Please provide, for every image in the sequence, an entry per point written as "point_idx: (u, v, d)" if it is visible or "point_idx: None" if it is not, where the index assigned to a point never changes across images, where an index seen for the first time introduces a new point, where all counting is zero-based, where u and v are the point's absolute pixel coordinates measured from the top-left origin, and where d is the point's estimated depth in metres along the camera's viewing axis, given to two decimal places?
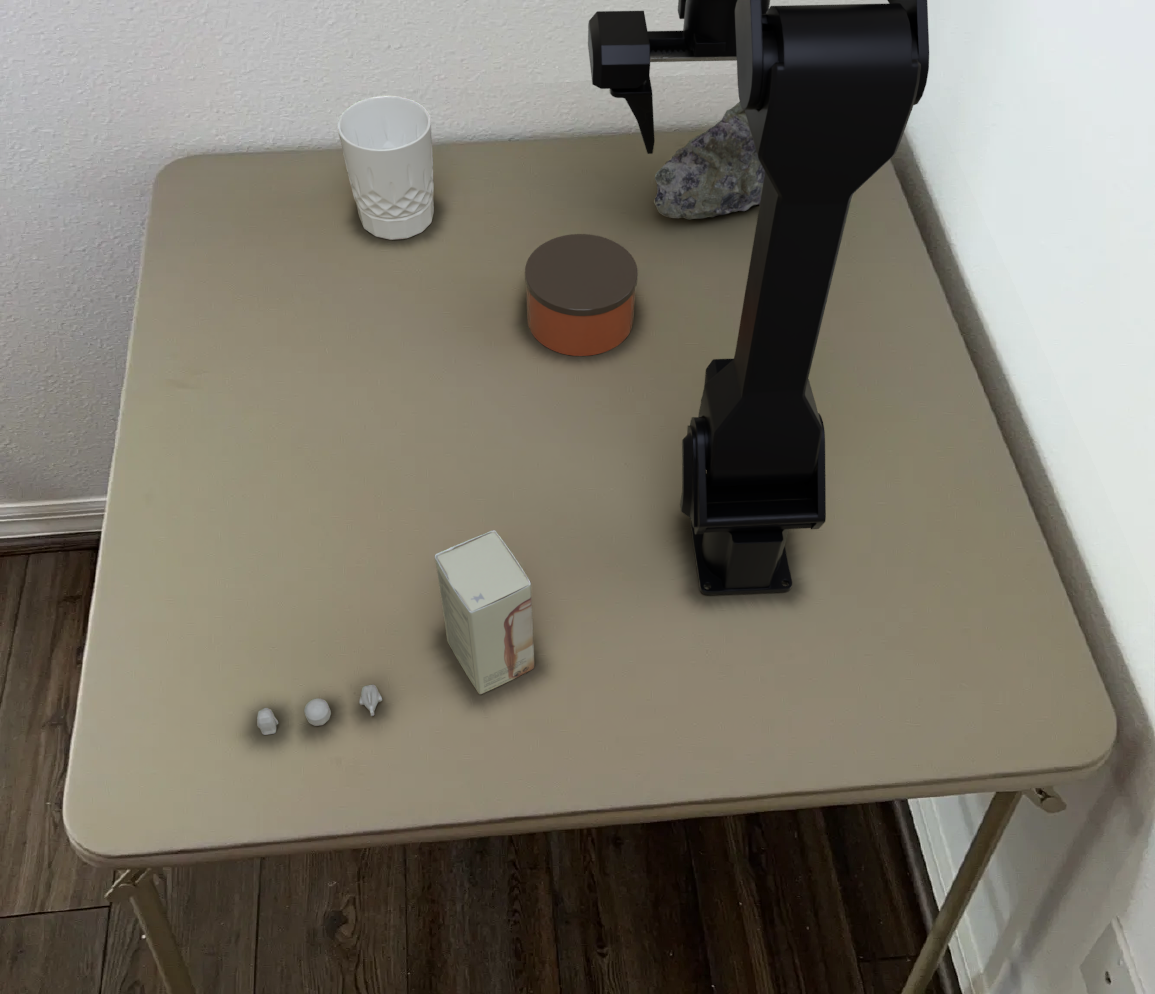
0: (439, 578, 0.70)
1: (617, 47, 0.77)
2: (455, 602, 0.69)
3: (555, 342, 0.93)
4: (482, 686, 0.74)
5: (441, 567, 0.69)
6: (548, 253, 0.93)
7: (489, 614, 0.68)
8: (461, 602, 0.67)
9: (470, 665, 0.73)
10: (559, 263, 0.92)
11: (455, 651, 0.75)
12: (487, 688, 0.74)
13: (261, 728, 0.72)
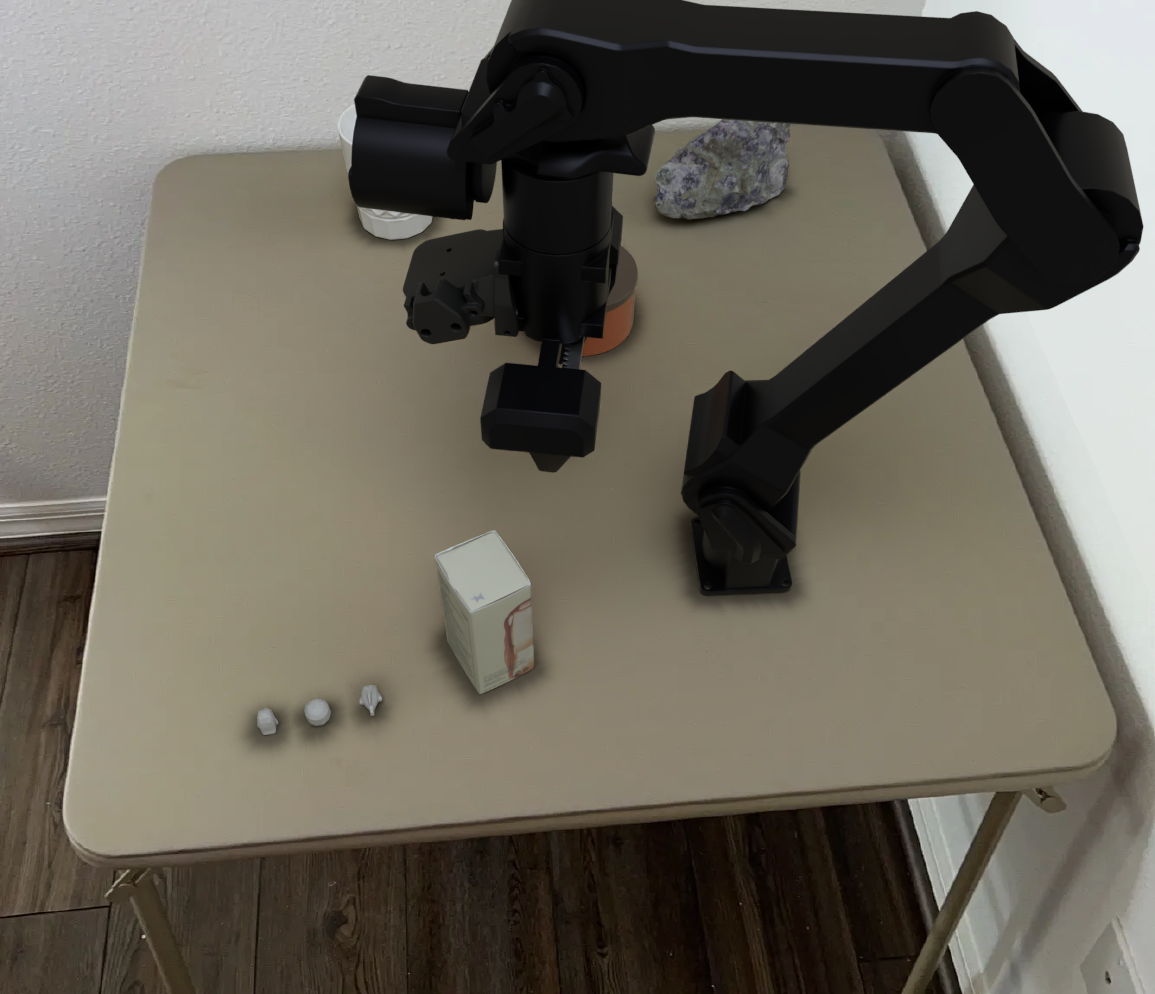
0: (439, 578, 0.70)
1: (583, 401, 0.60)
2: (455, 602, 0.69)
3: None
4: (482, 686, 0.74)
5: (441, 567, 0.69)
6: None
7: (488, 614, 0.68)
8: (461, 602, 0.67)
9: (470, 665, 0.73)
10: None
11: (455, 651, 0.75)
12: (487, 688, 0.74)
13: (261, 728, 0.72)
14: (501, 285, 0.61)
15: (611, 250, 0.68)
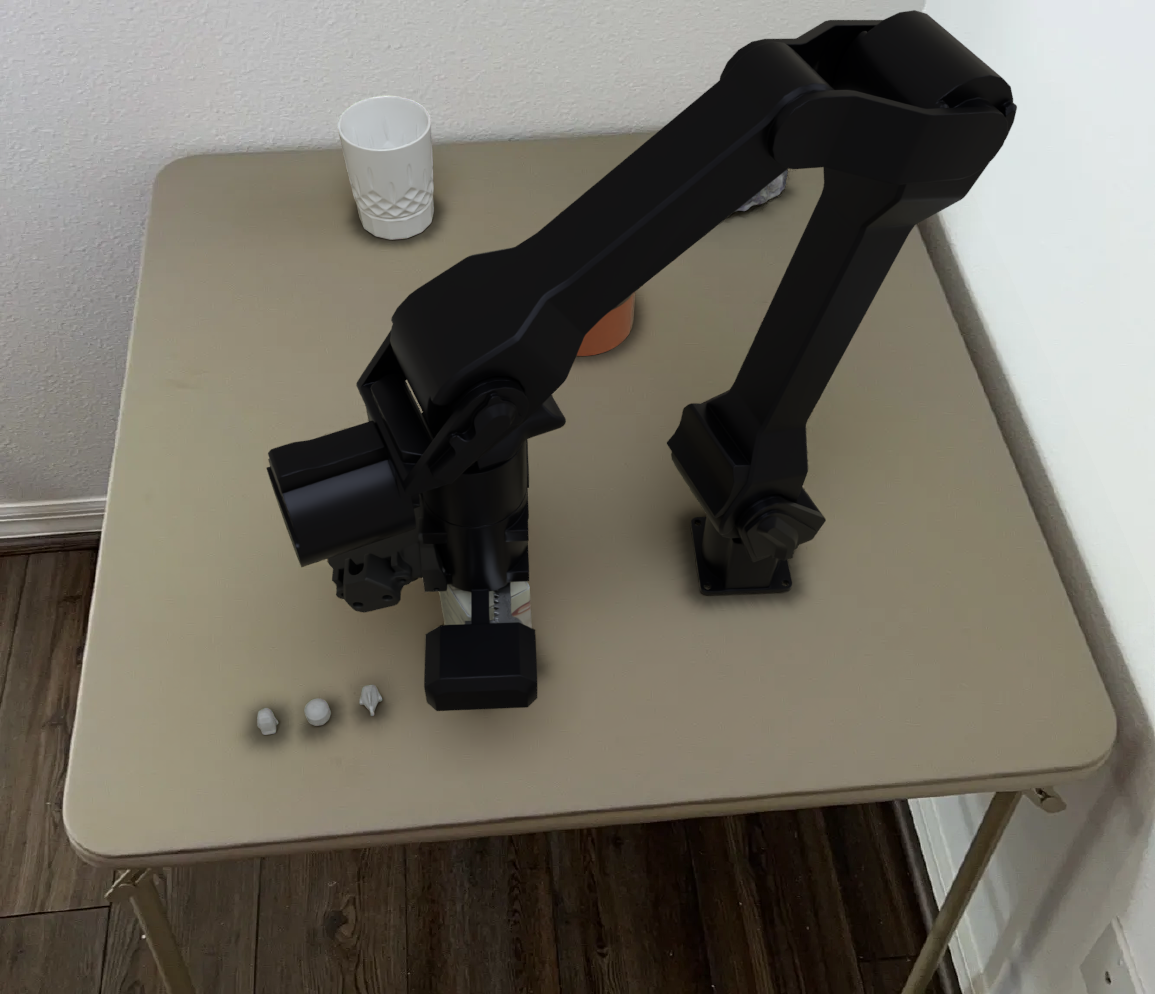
0: None
1: (521, 658, 0.62)
2: (454, 605, 0.69)
3: None
4: None
5: None
6: None
7: None
8: (460, 606, 0.67)
9: None
10: None
11: None
12: None
13: (261, 728, 0.72)
14: (427, 552, 0.62)
15: None
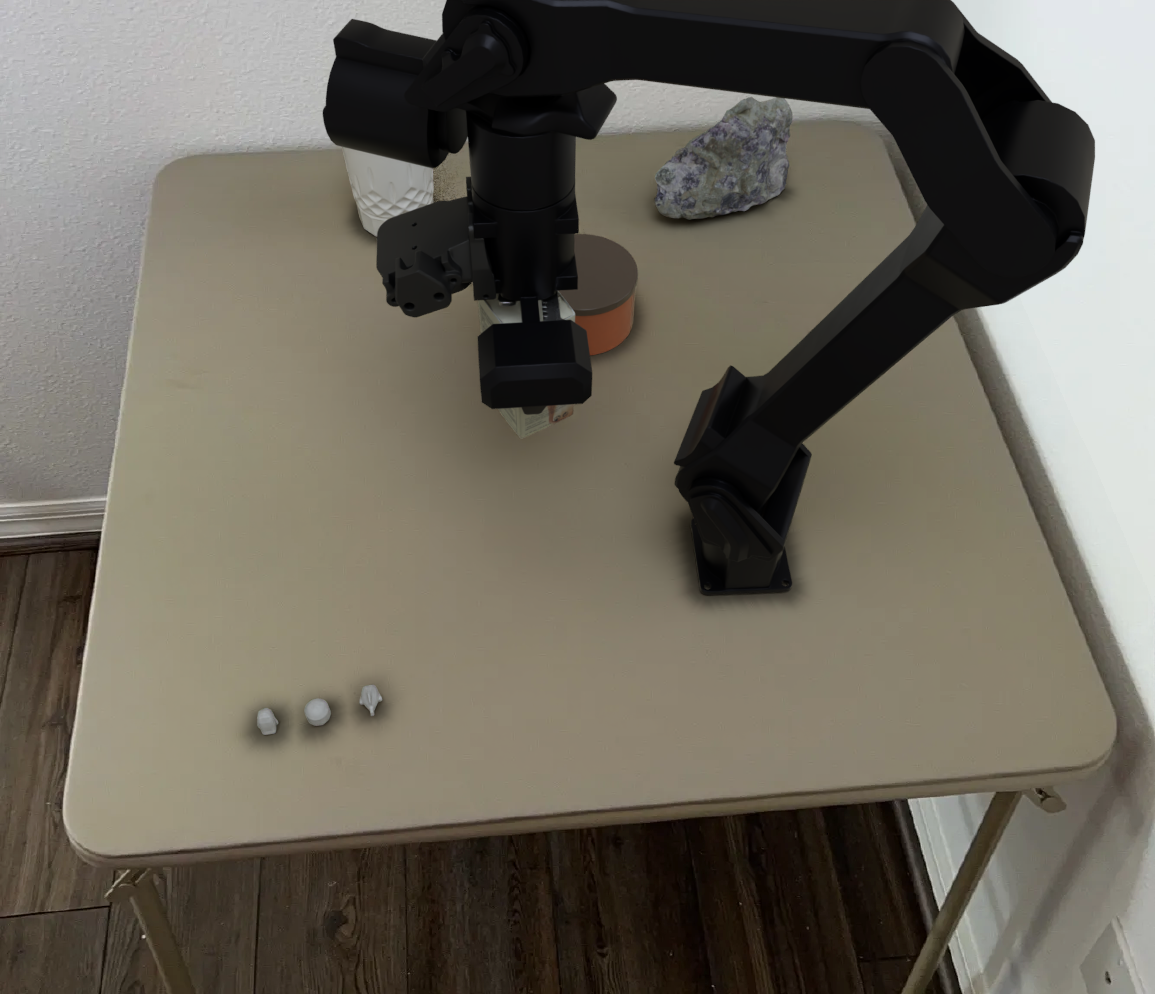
0: (481, 315, 0.70)
1: (576, 349, 0.62)
2: None
3: None
4: (523, 429, 0.74)
5: (484, 300, 0.68)
6: None
7: None
8: None
9: None
10: None
11: None
12: (528, 432, 0.75)
13: (261, 728, 0.72)
14: (478, 249, 0.62)
15: None
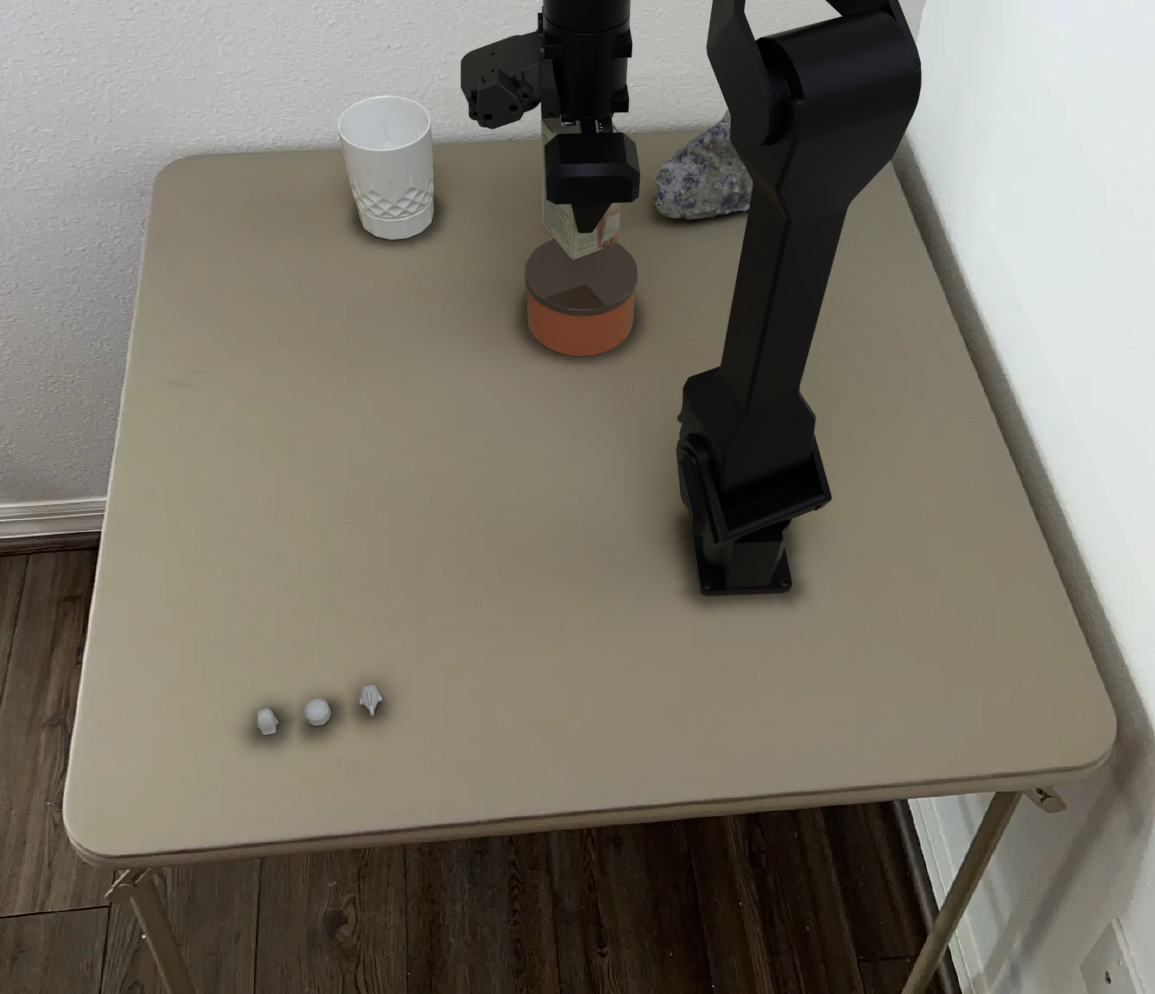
0: (543, 142, 0.82)
1: (627, 153, 0.74)
2: None
3: (555, 342, 0.93)
4: (575, 250, 0.86)
5: (547, 126, 0.80)
6: (548, 253, 0.93)
7: None
8: None
9: (566, 228, 0.85)
10: (559, 263, 0.92)
11: (551, 226, 0.88)
12: (579, 253, 0.87)
13: (261, 728, 0.72)
14: (547, 69, 0.74)
15: None
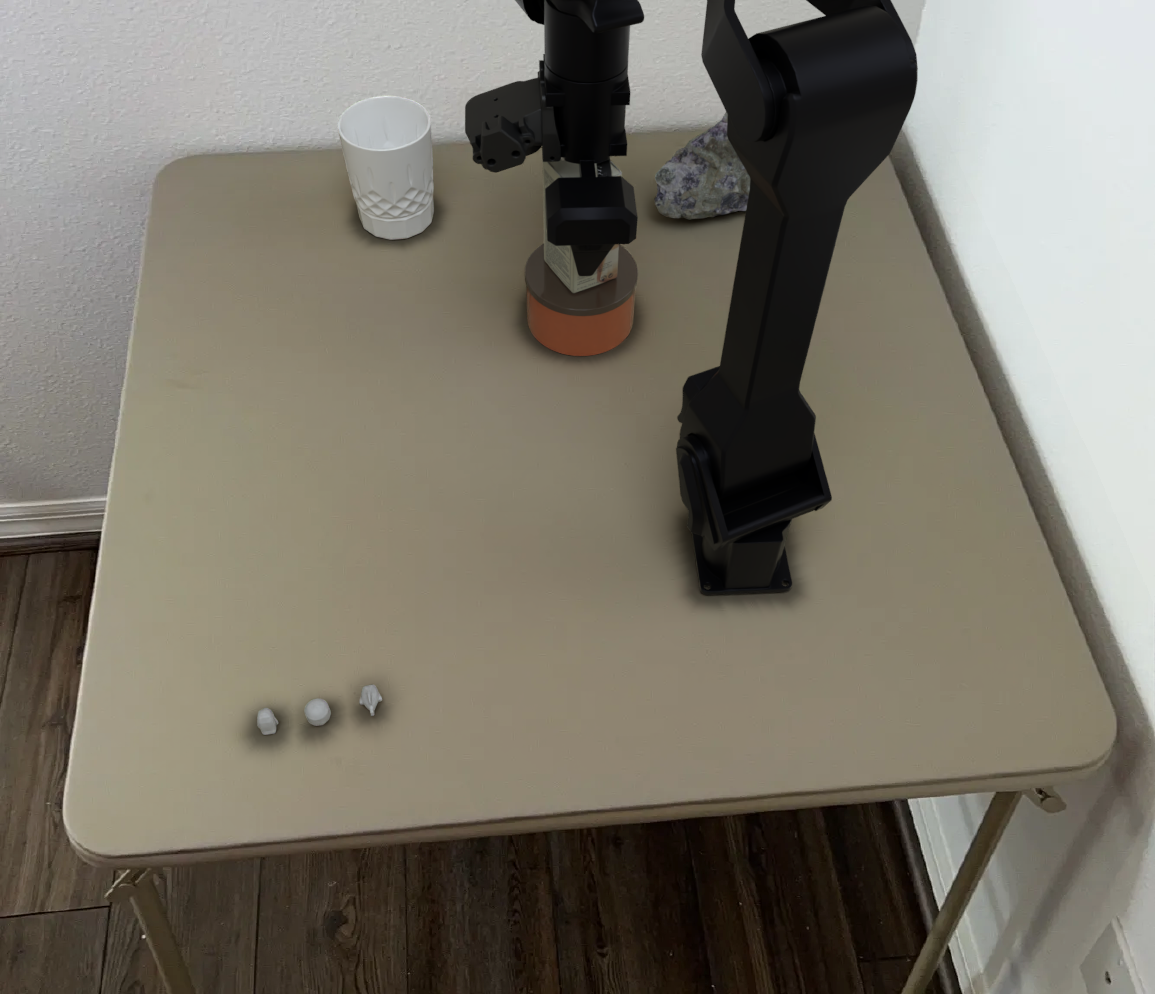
0: (544, 179, 0.86)
1: (625, 197, 0.77)
2: None
3: (555, 342, 0.93)
4: (576, 283, 0.89)
5: (548, 163, 0.84)
6: None
7: None
8: None
9: (567, 262, 0.88)
10: None
11: (552, 262, 0.91)
12: (579, 287, 0.90)
13: (261, 728, 0.72)
14: (548, 116, 0.77)
15: None
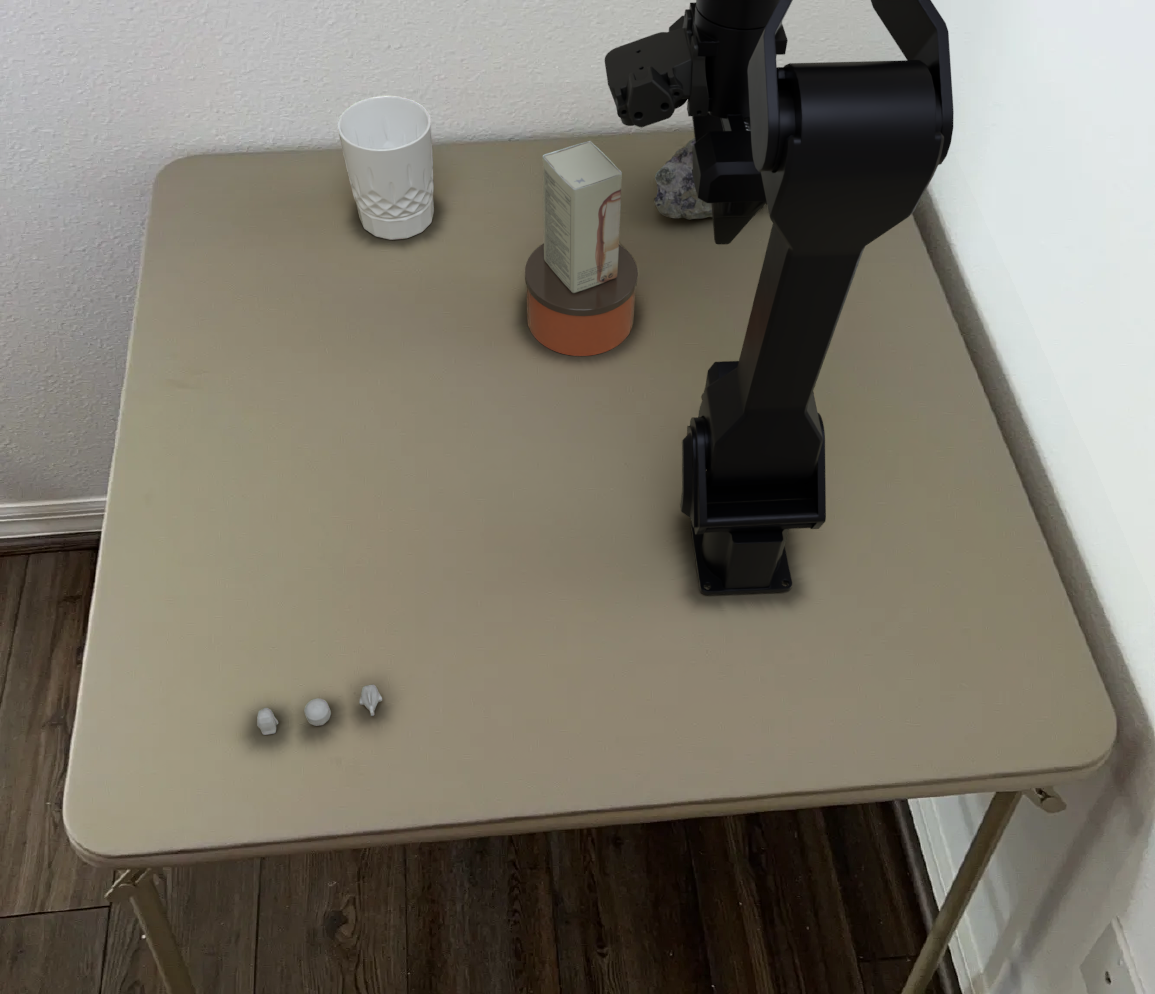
0: (545, 179, 0.86)
1: None
2: (559, 192, 0.84)
3: (555, 342, 0.93)
4: (576, 283, 0.89)
5: (548, 163, 0.84)
6: None
7: (588, 196, 0.83)
8: (566, 184, 0.83)
9: (567, 262, 0.88)
10: None
11: (552, 262, 0.91)
12: (579, 287, 0.90)
13: (261, 728, 0.72)
14: (699, 67, 0.73)
15: None
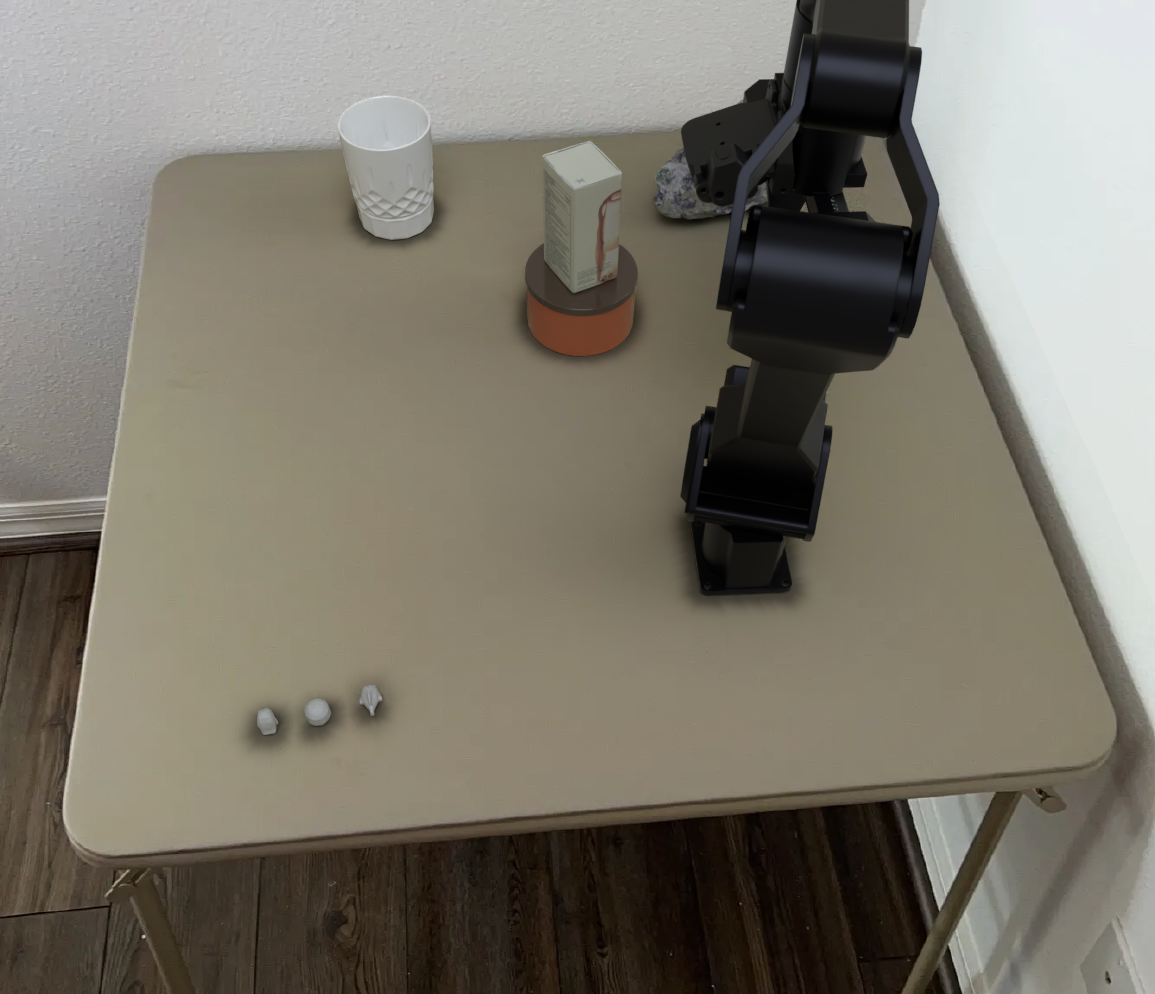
0: (545, 179, 0.86)
1: None
2: (559, 192, 0.84)
3: (555, 342, 0.93)
4: (576, 283, 0.89)
5: (548, 163, 0.84)
6: None
7: (588, 196, 0.83)
8: (566, 184, 0.83)
9: (567, 262, 0.88)
10: None
11: (552, 262, 0.91)
12: (579, 287, 0.90)
13: (261, 728, 0.72)
14: None
15: None
